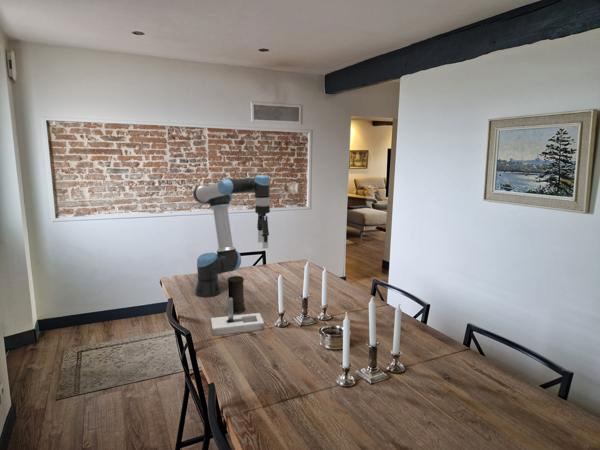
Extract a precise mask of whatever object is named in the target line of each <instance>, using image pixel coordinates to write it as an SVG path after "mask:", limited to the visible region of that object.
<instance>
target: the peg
mask: <svg viewBox="0 0 600 450" xmlns="http://www.w3.org/2000/svg"><path fill="white" fill-rule="evenodd" d="M227 316H228V323H233V322H234V321H233V316H234V314H233V298H232V297H229V296H228V297H227Z"/></svg>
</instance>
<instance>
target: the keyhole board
mask: <svg viewBox="0 0 600 450" xmlns="http://www.w3.org/2000/svg"><path fill="white" fill-rule="evenodd" d="M233 321H234V322H233V323H228V315H227V316H220V317H219V316H217V317H211V318H210V323H211V324H210V326H211V332H212V336H221V335H229V334H230V335H231V334H237V333H238V334H239V333H244V332H246V333H247V332H254V331H261V330H263V331H264V329H265V322H264V320H263V318H262V315H261V313H260V312H253V313H246V314H245V313H244V314H234V315H233Z"/></svg>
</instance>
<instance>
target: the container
mask: <svg viewBox="0 0 600 450" xmlns="http://www.w3.org/2000/svg"><path fill="white" fill-rule="evenodd" d="M244 279H245V278H244V277H243V276H240V275H235V276H233V275H231V276H229V277H228V278H227V284H228V290H227V291H228V298H229V297H232V298H233V315H239V314H243V313H245V310H246V307H245V300H244V294H245V293H244Z"/></svg>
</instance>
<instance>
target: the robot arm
mask: <svg viewBox="0 0 600 450" xmlns="http://www.w3.org/2000/svg"><path fill="white" fill-rule="evenodd" d="M270 184H271V183H270V176H269V175H267V174H266V175H265V174H260V175H259V174H258V175H255V176H254V178H253V177H244V178H234V179H233V178H232V179H228V178H225V179H220V180H219V182H218V181H217V182H215V183H211V184H199V185H198V186H196V187H195V188H194V189H193V191H192V196H193V197H192V198H193V200H194V201H196V203H199V204H201V205H202V204H203V205H209V207H210V208H211V209H212V210H213V217H214V224H215V225H214V226H215V231H216V237H217V238H216V239H217V244H218V249H217V250H216V252H206V253H203V254H201V255H199V256H198V257H197V258H196V259H197V260H196V269H197V272H196V273H197V283H196V287H195V292H194V293H195V295H196V296H197V297H203V298H211V297H215V296H218V295H220V294H222V286H221V284H220V281H219V274H224V273H225V274H226V273H229V272H234V271H237V270H238V269H239V268H240V267H241V265H242V257H241V253H240V252H239V251H238V250H237V248H236V247H234V245H233V238H232V232H231V224H230V223H231V222H230V217H229V211H228V209H229V208H228V207H229V206H230V202H231V201H232V200H233V199H232V198H233V195H234V194H245V193H248V194H249V193H251V194H252V193H254V198H255V199H253V201H254V203H255V206H254V209H255V210H254V211H255V214H257V224H256V225H257V227H256V228H257V242H258V243H262V249H269V236H270V232H269V223H268V218H269V217H268V216H267V214H270V213H271V211H270V210H271V209H270V203H271V202H270V201H271V200H270V199H271V197H270V191H271V190H270V188H271V187H270Z"/></svg>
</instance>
